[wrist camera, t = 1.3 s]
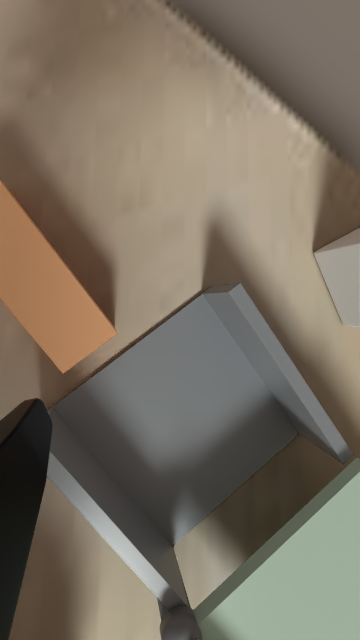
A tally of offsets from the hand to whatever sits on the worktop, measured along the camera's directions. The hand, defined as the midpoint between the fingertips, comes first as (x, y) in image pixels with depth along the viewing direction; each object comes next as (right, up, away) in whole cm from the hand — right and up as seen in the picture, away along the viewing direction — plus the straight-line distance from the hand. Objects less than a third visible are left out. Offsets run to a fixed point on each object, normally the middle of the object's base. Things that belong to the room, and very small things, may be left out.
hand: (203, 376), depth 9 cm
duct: (0, -7, +18) cm, 19 cm away
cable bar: (-11, +5, +15) cm, 19 cm away
